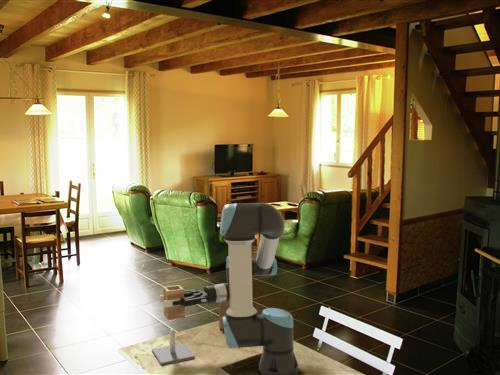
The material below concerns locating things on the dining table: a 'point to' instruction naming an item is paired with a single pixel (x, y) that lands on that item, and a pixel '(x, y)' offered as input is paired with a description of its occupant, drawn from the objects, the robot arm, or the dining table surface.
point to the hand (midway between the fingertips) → (162, 301)
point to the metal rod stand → (172, 352)
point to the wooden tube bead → (170, 294)
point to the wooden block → (223, 311)
